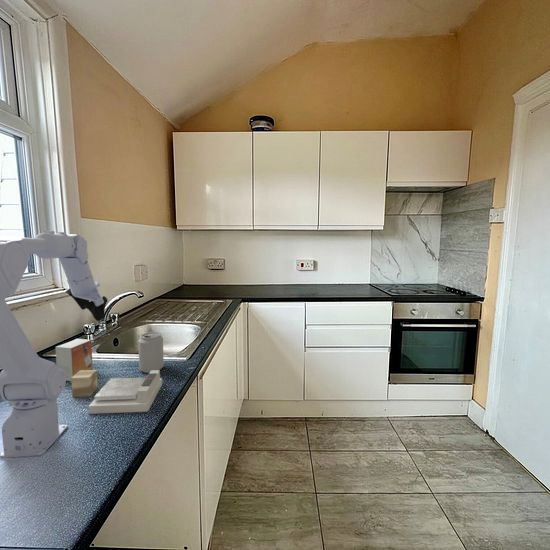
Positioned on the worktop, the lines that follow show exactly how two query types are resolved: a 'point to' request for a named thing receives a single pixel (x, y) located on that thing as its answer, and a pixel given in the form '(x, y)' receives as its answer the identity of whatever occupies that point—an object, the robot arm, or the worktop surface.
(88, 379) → the beech block
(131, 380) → the pan
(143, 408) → the scale base
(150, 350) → the can
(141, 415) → the worktop surface
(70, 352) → the small box
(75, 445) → the worktop surface
